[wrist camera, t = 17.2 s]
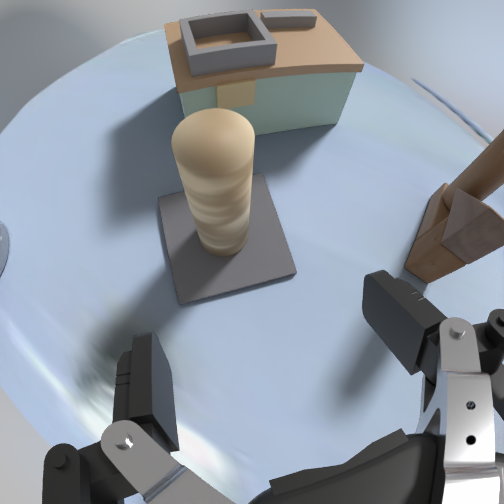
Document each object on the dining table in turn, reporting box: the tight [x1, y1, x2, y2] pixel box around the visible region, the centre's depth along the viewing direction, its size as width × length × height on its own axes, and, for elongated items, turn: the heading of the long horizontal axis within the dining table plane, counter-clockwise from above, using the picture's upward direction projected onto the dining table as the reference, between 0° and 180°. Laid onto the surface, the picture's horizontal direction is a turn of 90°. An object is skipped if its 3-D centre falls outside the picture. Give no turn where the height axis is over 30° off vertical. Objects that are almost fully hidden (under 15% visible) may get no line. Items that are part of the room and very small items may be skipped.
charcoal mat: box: [158, 173, 297, 305], centre depth 30 cm, size 11×11×1 cm
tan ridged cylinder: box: [171, 108, 255, 257], centre depth 23 cm, size 5×5×14 cm
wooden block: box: [405, 130, 504, 283], centre depth 23 cm, size 4×11×18 cm, turn 147°
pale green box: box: [164, 9, 364, 136], centre depth 30 cm, size 19×13×13 cm
